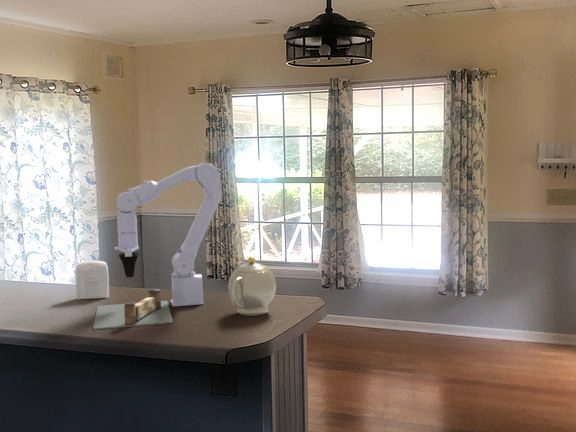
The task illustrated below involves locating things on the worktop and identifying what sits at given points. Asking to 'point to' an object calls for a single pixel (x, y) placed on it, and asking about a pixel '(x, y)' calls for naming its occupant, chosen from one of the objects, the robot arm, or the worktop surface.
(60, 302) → the worktop surface
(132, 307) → the latch post
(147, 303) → the cream long bar
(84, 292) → the white upright rounded block
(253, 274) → the teapot
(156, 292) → the brown grey short cylinder
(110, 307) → the mat
